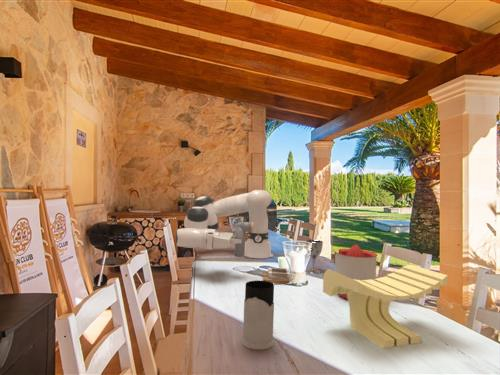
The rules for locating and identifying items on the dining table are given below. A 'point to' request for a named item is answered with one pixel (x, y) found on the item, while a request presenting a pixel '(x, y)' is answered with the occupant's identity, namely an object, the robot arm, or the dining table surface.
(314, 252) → the wine glass
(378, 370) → the dining table surface
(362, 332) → the slatted curved stool
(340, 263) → the citrus juicer
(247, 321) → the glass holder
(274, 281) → the collar plate
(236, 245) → the pipe elbow
